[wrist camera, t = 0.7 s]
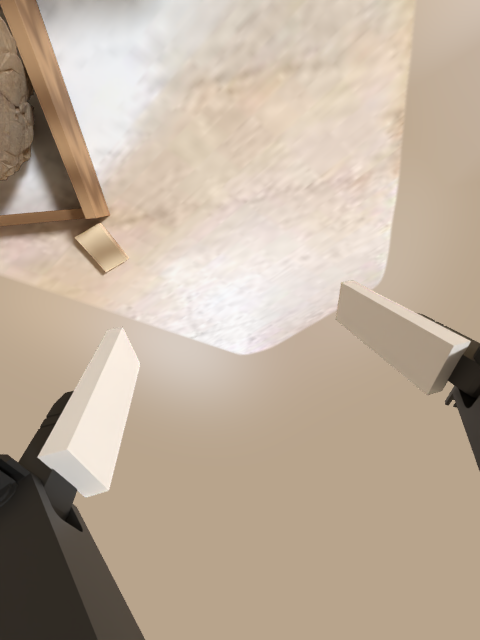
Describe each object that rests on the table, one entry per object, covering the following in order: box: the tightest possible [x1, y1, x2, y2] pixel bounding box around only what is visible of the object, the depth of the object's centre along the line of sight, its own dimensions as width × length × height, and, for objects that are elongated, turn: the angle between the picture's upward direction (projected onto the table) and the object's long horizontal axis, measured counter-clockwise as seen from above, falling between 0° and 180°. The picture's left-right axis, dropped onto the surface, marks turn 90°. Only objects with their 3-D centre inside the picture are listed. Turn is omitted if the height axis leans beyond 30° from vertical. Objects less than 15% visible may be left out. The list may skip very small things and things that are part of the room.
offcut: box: [75, 223, 129, 272], centre depth 34 cm, size 6×4×2 cm, turn 27°
